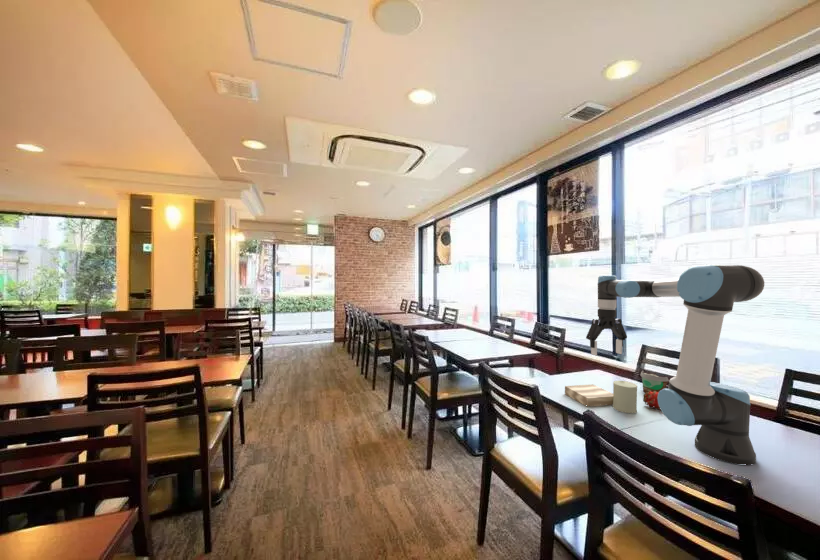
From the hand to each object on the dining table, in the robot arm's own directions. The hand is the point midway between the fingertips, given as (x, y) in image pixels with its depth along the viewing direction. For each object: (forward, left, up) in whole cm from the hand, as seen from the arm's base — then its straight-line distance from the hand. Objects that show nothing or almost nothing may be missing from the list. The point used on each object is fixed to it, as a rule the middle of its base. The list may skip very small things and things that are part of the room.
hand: (606, 354), depth 151 cm
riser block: (+7, +2, -24) cm, 25 cm away
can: (-6, -5, -24) cm, 25 cm away
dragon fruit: (-7, -21, -24) cm, 33 cm away
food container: (+8, -34, -24) cm, 42 cm away
